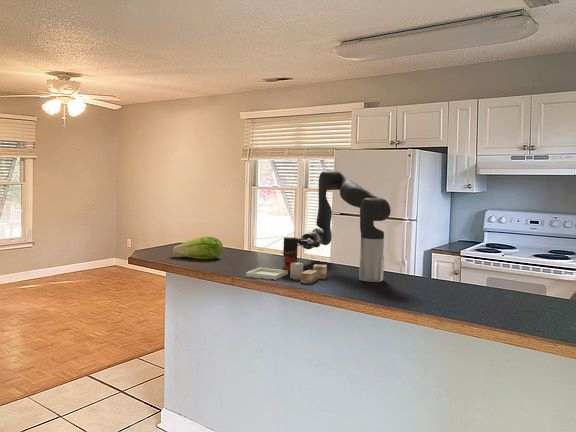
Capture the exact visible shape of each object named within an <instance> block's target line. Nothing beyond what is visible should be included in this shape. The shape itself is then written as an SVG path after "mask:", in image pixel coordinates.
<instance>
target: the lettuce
mask: <svg viewBox="0 0 576 432" xmlns="http://www.w3.org/2000/svg"><path fill="white" fill-rule="evenodd" d="M172 251H173V252H172V253H174V254H176V255H180V256H183V257H186V258H192V259H197V260H208V259H211V260H213V259H216V258H219V257H220V256H221V255H222V254H223V251H224V249H223V243H222V241H221V240H220V239H219V238H215V237H214V236H204V237H198V238H193V239H190V240H187V241H185V242H183V243H180V244H178V245H176V246H173V249H172Z"/></svg>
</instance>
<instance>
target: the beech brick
mask: <svg viewBox="0 0 576 432" xmlns="http://www.w3.org/2000/svg"><path fill="white" fill-rule="evenodd" d="M317 275H318V271H315V270H313V269H308V270H303V272H302V273H301V279H300V283H301V282H303V284H308V283H309V284H312V283H314V282H316V280H317V281H318V278H317Z"/></svg>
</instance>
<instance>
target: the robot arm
mask: <svg viewBox="0 0 576 432" xmlns="http://www.w3.org/2000/svg"><path fill="white" fill-rule="evenodd" d="M327 191H339V196H340V198H341V199H342V200H343V201H344V202H345V203H347V204H349V205H350V206H352V207H356V208H358V209H359V230H360V247H359V248H360V250H359V251H360V252H359V271H358V273H359V274H358V280H359V281H362V282H367V283H382V281H383V280H384V269H385V265H384V264H385V257H384V248H385V246H384V245H385V242H384V241H385V232H384V231H383V230H381V229H379V228H377V227H376V226H375V225H374V224H375V223H374V222H383V221H386V220H387V219H388V218H390V215H391V212H392V210H391V205H390V203H389V202H388V201H387V200H386V199H384V198H383V197H380V196H378V195H376V194H373V193H371V192H370V191H369V190H367V189H365V188H364V187H362V186H361V185H359V184H358V183H356V182H354V181H352V180H351V179H349V178H348V177H347V176H346V175H344V173H342V172H341V171H339V170H324V171H321V172H320V174H319V176H318V206H317V209H318V211H317V214H316V215H317V216H316V221H315V223H316V227H315V228H313V229H312V231H311V232H307V233H304V234H303V235H302V236H301V237H297V238H298V247H301V248H303V249H305V250H312V249H314V248H316V249H317V248H320V247H321V245H323V246H328V245H329V244H330V243H331V241H332V236H333V235H332V230H331V229H332V227H331V222H332V216H333V211H332V210H333V209H332V207H331V205H330V203H329V200H328V198H327ZM317 227H318V228H317Z"/></svg>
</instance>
